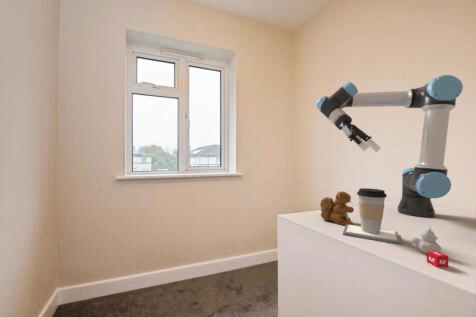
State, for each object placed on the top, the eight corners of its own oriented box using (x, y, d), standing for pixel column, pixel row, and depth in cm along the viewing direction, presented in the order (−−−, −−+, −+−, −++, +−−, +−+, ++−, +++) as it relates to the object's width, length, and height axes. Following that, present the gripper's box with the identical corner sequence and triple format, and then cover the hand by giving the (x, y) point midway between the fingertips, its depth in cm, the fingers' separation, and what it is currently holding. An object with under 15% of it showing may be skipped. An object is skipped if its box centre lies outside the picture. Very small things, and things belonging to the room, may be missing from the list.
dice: (448, 267, 58) (448, 256, 58) (436, 267, 58) (437, 256, 58) (437, 262, 61) (437, 251, 61) (426, 262, 61) (426, 251, 61)
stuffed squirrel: (352, 227, 92) (353, 194, 92) (316, 221, 99) (316, 190, 99) (354, 221, 100) (355, 191, 100) (321, 216, 108) (321, 188, 107)
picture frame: (397, 234, 84) (397, 231, 84) (401, 244, 73) (401, 241, 73) (346, 226, 92) (346, 223, 92) (342, 234, 82) (343, 231, 82)
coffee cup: (377, 227, 87) (378, 188, 87) (391, 236, 78) (392, 192, 78) (351, 226, 88) (352, 187, 88) (362, 234, 79) (363, 191, 79)
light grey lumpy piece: (440, 259, 63) (441, 230, 63) (410, 252, 67) (411, 225, 67) (441, 254, 67) (442, 226, 67) (412, 247, 71) (413, 221, 71)
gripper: (346, 127, 124) (376, 155, 113) (322, 122, 108) (354, 154, 97) (357, 116, 120) (389, 144, 109) (333, 109, 104) (368, 141, 93)
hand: (372, 149), depth 103 cm, fingers open, 13 cm apart
